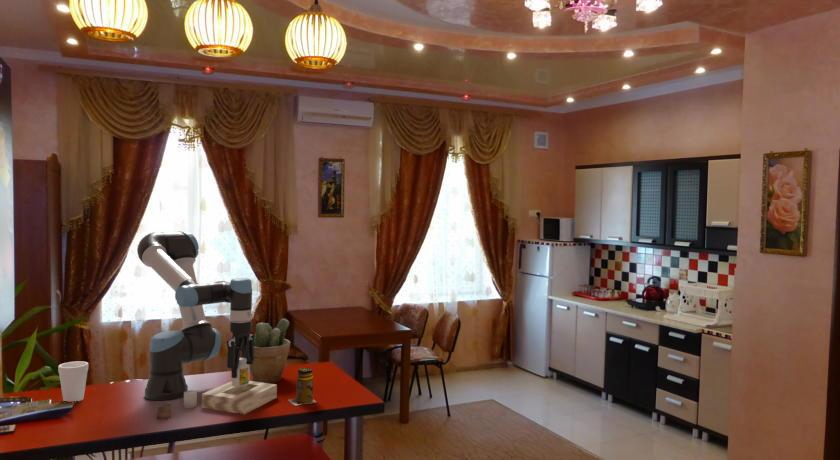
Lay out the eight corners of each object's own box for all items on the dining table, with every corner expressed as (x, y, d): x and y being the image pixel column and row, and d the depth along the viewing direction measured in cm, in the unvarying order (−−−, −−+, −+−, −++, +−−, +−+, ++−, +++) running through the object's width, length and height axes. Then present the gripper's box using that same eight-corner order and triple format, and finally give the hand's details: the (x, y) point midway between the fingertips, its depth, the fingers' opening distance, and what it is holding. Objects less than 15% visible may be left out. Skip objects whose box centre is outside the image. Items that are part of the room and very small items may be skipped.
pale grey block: (181, 407, 216) (181, 393, 215) (189, 403, 220) (189, 389, 220) (191, 408, 214) (191, 394, 214) (199, 404, 218) (199, 391, 218)
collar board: (201, 407, 215) (201, 393, 215) (236, 391, 234) (236, 379, 234) (244, 414, 209) (244, 400, 209) (276, 397, 228) (276, 384, 228)
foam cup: (72, 394, 227) (72, 360, 226) (93, 397, 225) (93, 362, 224) (52, 402, 217) (52, 367, 217) (74, 405, 215) (74, 368, 215)
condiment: (316, 402, 224) (317, 370, 223) (295, 406, 219) (295, 373, 219) (309, 397, 230) (309, 365, 230) (287, 400, 225) (288, 368, 225)
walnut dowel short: (153, 418, 203) (153, 407, 203) (163, 414, 208) (163, 403, 207) (164, 420, 202) (164, 408, 202) (173, 416, 206) (173, 404, 206)
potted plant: (265, 388, 239) (266, 325, 238) (234, 380, 249) (234, 320, 248) (298, 378, 254) (299, 319, 254) (267, 371, 265) (268, 314, 264)
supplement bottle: (248, 382, 225) (249, 356, 224) (248, 386, 219) (248, 360, 219) (233, 383, 223) (233, 357, 223) (232, 387, 218) (232, 360, 218)
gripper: (234, 326, 211) (233, 392, 211) (264, 317, 228) (264, 378, 229) (216, 324, 213) (215, 389, 214) (247, 316, 231) (247, 376, 231)
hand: (240, 383), depth 221 cm, fingers closed on supplement bottle, 5 cm apart
